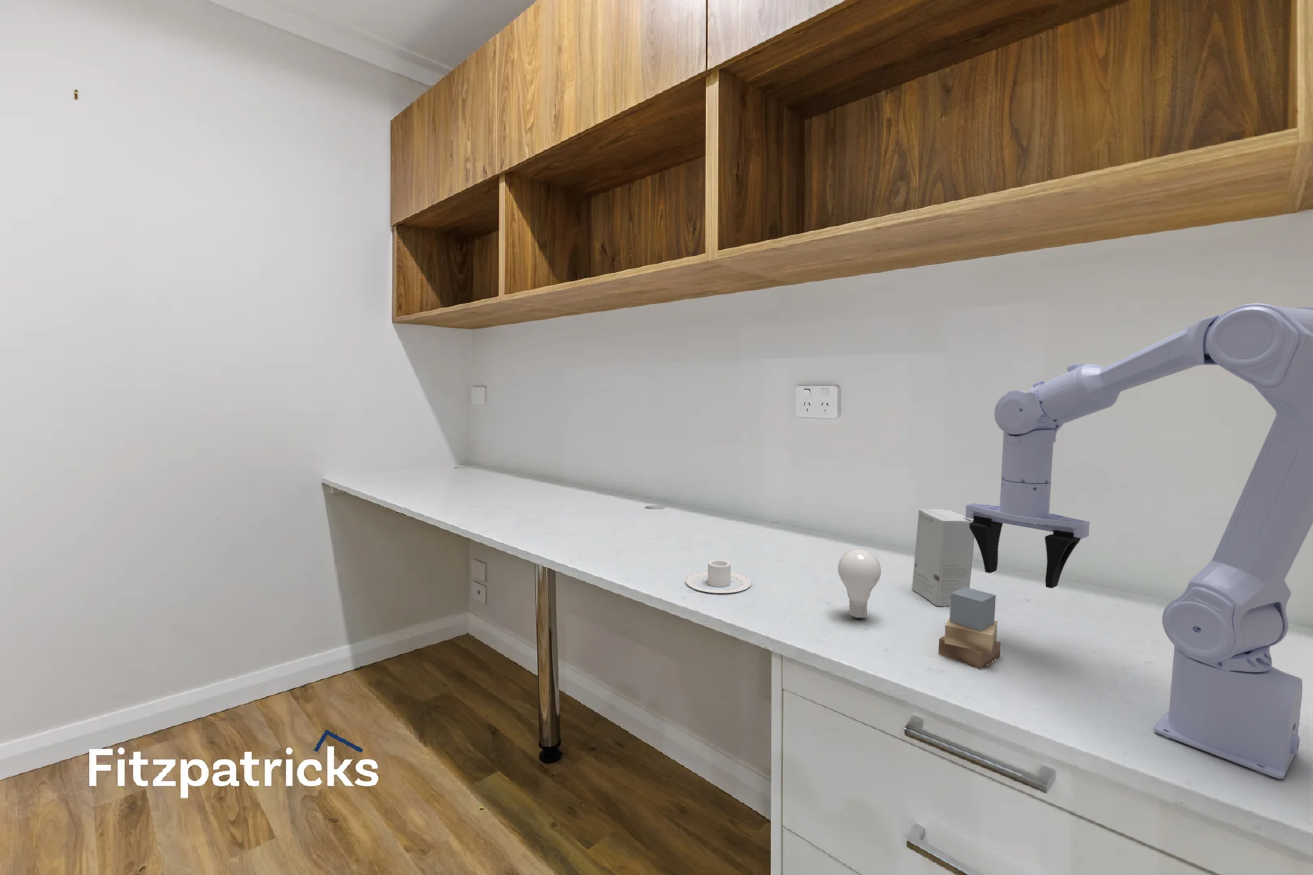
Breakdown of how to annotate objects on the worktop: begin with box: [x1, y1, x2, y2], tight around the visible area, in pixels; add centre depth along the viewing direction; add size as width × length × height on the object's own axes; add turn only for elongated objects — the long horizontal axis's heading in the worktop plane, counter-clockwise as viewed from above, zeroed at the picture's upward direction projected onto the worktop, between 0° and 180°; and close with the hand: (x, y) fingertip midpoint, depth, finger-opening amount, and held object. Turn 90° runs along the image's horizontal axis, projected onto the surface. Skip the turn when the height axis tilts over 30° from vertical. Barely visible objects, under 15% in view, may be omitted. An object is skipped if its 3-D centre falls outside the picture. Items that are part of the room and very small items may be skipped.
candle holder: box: [684, 559, 752, 594], centre depth 109 cm, size 12×12×4 cm
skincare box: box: [911, 508, 975, 607], centre depth 101 cm, size 8×6×15 cm
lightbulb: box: [837, 548, 882, 620], centre depth 92 cm, size 6×6×11 cm
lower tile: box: [938, 635, 1002, 670], centre depth 80 cm, size 6×6×2 cm
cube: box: [949, 587, 997, 632], centre depth 79 cm, size 4×4×4 cm
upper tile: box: [944, 617, 998, 654], centre depth 80 cm, size 6×6×2 cm
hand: (1020, 578), depth 81 cm, fingers open, 7 cm apart
